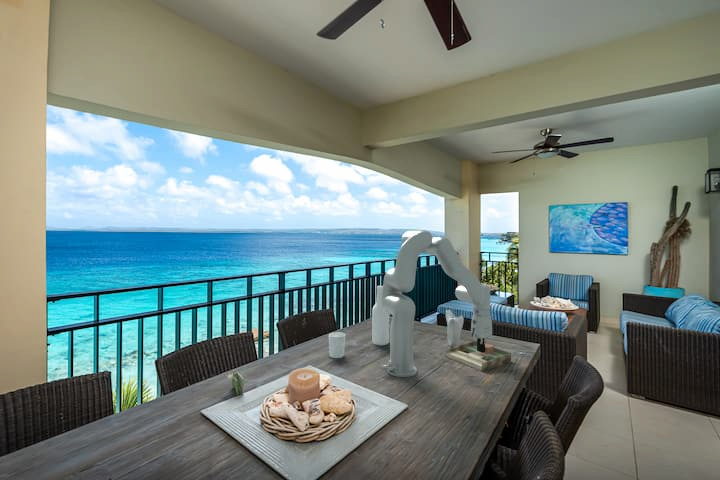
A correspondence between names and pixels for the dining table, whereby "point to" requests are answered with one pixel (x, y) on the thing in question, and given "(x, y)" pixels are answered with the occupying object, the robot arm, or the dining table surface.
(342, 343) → the white cup
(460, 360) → the box
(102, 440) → the dining table surface
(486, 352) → the block
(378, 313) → the alcohol
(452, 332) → the shell sculpture
